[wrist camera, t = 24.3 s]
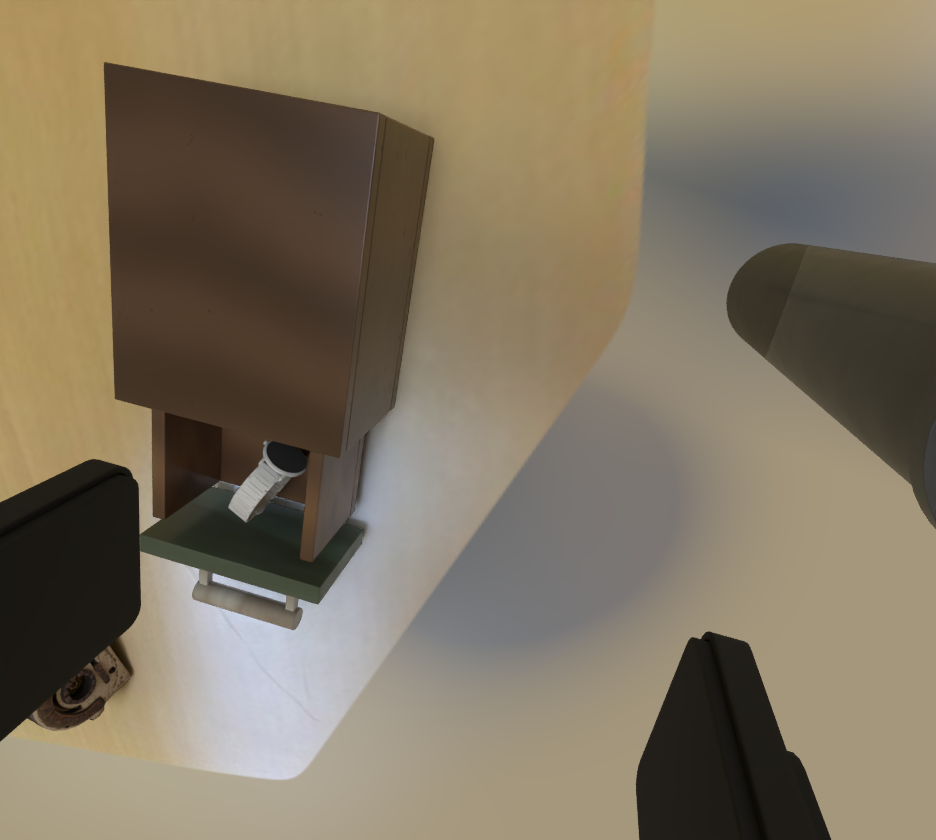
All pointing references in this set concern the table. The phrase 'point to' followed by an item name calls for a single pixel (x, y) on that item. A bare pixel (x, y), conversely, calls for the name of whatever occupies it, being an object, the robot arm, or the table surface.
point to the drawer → (263, 537)
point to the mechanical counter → (83, 694)
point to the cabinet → (259, 256)
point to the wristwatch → (268, 479)
